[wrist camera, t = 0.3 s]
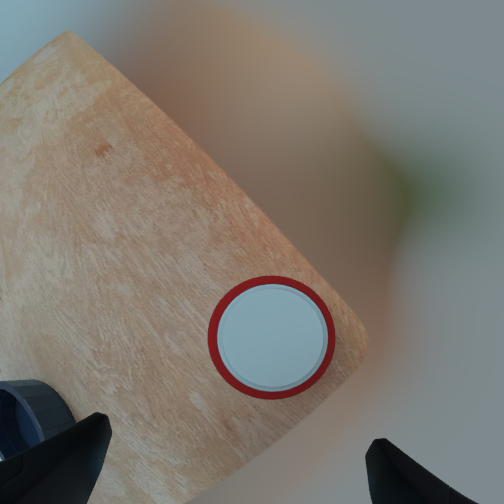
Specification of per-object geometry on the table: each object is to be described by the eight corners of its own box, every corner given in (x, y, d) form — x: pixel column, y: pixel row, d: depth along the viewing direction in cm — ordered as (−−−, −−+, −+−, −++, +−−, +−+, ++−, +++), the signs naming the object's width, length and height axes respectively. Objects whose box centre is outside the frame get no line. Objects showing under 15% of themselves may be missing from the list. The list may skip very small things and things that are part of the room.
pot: (97, 458, 20) (68, 475, 15) (42, 473, 19) (14, 485, 13) (50, 366, 23) (14, 366, 17) (3, 394, 21) (-28, 396, 16)
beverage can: (286, 385, 22) (308, 427, 11) (217, 355, 23) (177, 369, 12) (316, 319, 24) (364, 300, 12) (249, 289, 25) (237, 245, 13)
